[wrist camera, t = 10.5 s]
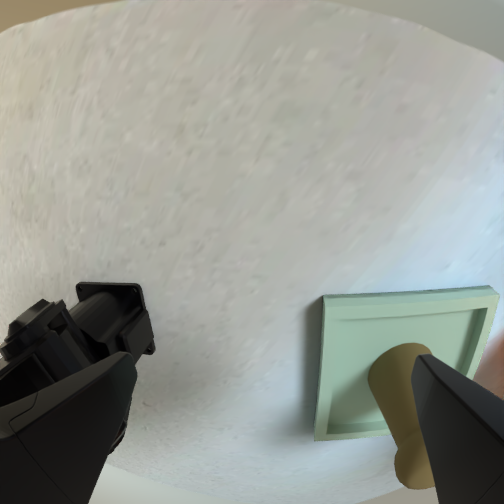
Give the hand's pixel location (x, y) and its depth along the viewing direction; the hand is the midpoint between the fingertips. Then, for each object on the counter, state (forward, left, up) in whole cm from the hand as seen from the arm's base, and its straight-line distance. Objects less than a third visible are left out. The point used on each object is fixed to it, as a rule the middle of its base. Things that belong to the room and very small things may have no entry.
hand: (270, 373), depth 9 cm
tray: (+10, -11, -13) cm, 20 cm away
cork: (+10, -11, -13) cm, 19 cm away
